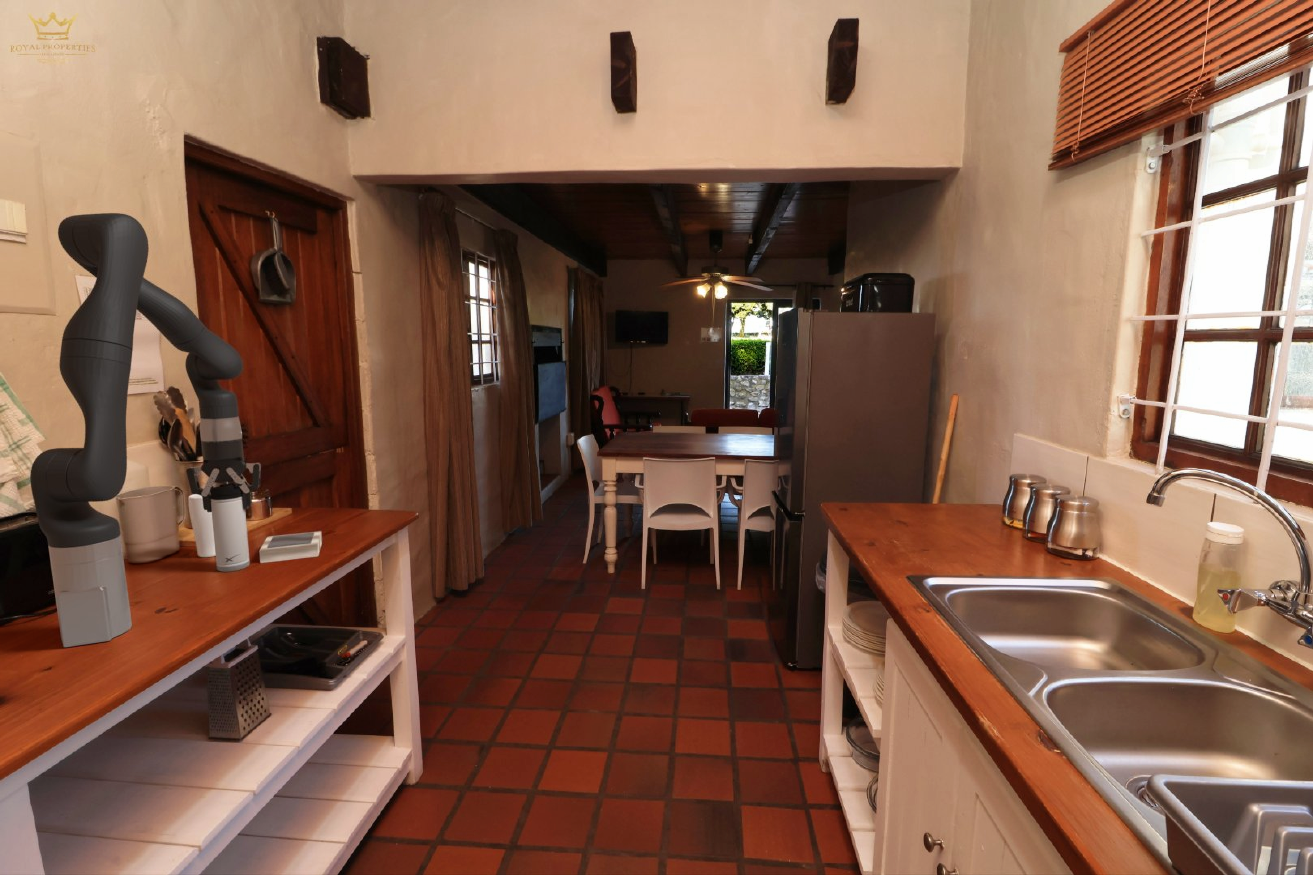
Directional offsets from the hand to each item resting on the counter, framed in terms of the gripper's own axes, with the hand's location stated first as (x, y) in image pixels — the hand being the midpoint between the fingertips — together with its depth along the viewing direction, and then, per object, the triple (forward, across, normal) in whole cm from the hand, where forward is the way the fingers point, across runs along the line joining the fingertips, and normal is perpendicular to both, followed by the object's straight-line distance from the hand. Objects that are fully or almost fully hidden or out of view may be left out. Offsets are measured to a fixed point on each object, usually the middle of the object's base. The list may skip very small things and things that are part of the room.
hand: (228, 509), depth 140 cm
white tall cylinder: (+14, -7, +13) cm, 20 cm away
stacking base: (+14, +11, +7) cm, 19 cm away
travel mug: (+14, 0, 0) cm, 14 cm away
